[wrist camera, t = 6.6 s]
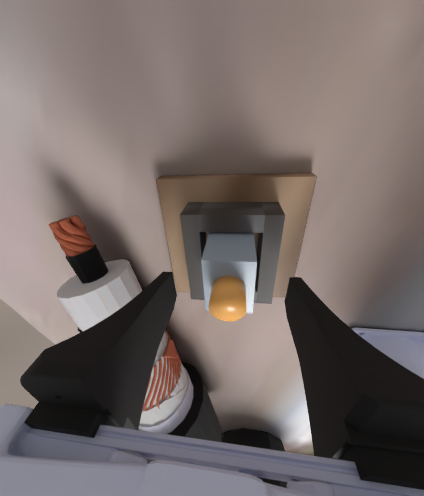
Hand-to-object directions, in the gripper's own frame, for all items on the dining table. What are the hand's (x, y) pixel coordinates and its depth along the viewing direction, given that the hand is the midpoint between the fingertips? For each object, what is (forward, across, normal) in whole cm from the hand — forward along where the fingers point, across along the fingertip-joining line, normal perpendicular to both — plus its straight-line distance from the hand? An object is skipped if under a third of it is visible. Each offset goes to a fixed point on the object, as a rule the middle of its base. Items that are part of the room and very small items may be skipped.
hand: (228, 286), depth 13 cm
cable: (+6, +10, +14) cm, 18 cm away
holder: (+6, 0, 0) cm, 6 cm away
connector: (+5, 0, 0) cm, 5 cm away
